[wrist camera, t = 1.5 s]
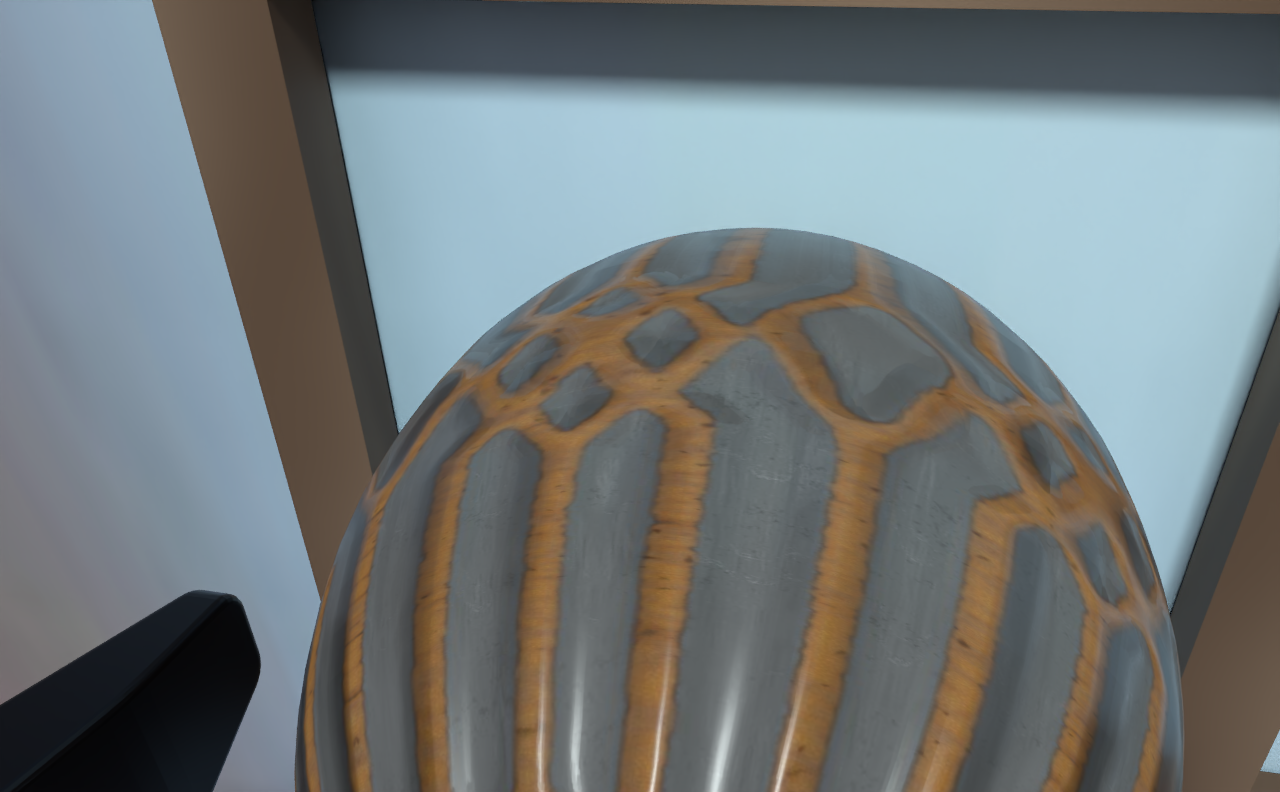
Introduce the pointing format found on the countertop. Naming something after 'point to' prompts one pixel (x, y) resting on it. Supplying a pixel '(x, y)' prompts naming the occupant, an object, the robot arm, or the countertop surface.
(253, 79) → the rail frame
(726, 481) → the vase
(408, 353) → the countertop surface
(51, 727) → the robot arm
